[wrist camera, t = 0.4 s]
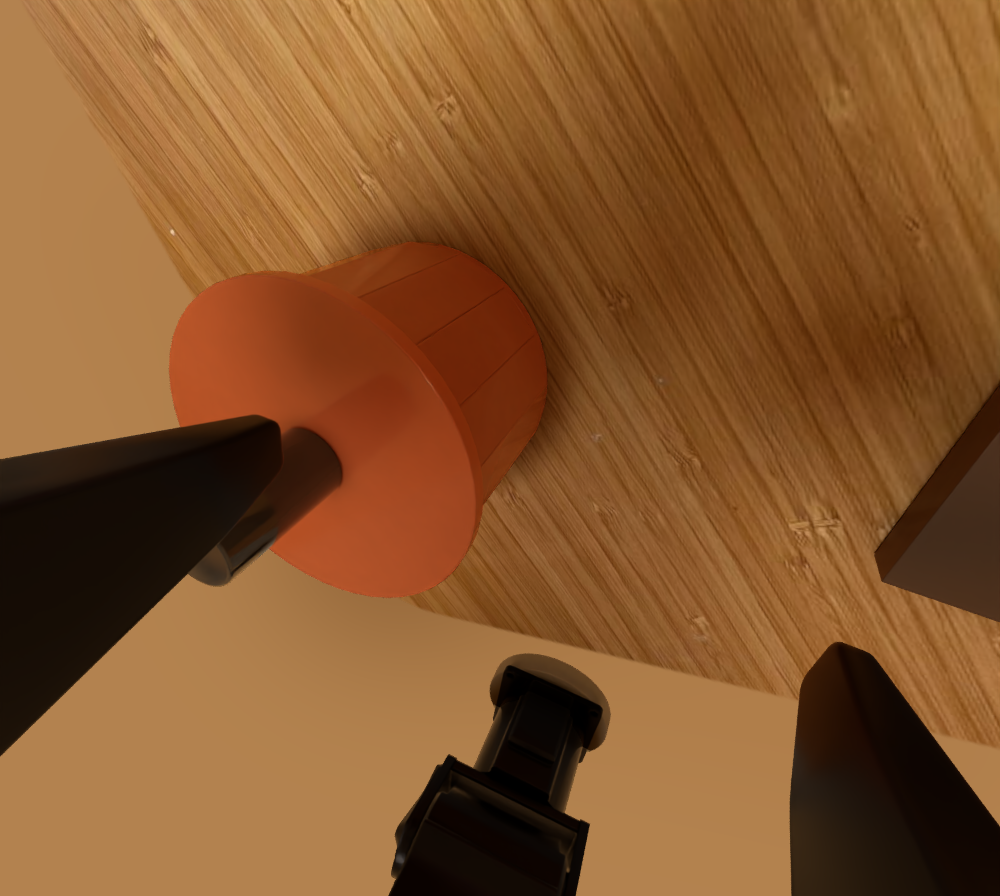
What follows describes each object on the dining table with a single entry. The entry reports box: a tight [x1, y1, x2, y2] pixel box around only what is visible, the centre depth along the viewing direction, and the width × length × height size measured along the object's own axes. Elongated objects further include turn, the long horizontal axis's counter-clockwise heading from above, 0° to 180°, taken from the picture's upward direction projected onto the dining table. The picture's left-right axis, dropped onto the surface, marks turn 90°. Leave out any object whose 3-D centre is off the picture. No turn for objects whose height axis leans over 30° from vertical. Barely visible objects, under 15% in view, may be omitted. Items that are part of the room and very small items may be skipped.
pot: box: [301, 242, 547, 505], centre depth 20 cm, size 10×10×8 cm
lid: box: [169, 271, 484, 598], centre depth 15 cm, size 11×11×6 cm
